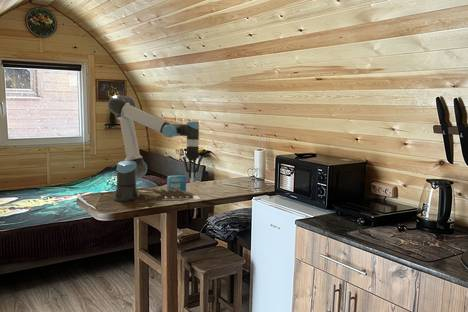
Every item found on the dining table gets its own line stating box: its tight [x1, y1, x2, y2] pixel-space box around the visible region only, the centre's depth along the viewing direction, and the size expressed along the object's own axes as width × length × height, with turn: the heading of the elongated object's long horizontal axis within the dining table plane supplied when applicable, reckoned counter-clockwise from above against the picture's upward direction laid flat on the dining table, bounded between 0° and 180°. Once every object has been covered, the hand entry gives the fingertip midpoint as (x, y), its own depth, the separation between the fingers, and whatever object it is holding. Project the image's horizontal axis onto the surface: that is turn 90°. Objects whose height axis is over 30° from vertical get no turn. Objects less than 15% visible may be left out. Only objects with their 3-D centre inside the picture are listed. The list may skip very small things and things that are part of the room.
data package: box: [166, 174, 187, 192], centre depth 284 cm, size 12×4×12 cm, turn 119°
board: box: [161, 195, 201, 201], centre depth 268 cm, size 24×10×1 cm, turn 106°
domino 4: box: [166, 188, 186, 198], centre depth 267 cm, size 2×5×12 cm
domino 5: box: [174, 188, 194, 198], centre depth 268 cm, size 2×5×12 cm
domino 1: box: [144, 194, 165, 201], centre depth 263 cm, size 2×5×12 cm
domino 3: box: [159, 188, 180, 199], centre depth 266 cm, size 2×5×12 cm
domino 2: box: [152, 187, 172, 198], centre depth 264 cm, size 2×5×12 cm
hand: (191, 182), depth 269 cm, fingers closed
